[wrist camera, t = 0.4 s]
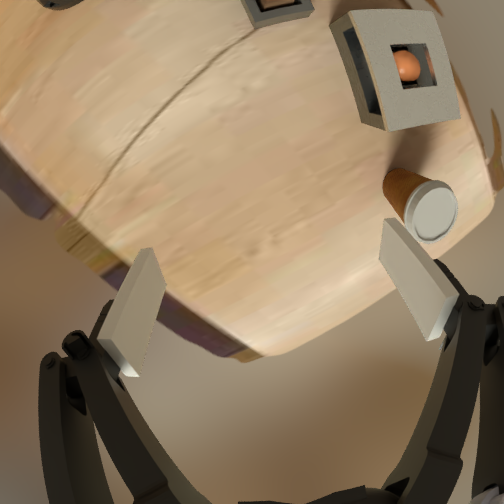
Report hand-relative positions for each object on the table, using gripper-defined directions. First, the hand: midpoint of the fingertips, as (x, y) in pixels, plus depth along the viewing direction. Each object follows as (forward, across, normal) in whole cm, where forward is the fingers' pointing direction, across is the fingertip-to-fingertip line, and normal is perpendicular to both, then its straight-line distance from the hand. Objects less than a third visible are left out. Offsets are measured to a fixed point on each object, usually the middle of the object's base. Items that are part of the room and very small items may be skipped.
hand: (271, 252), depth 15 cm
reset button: (+24, +21, +12) cm, 34 cm away
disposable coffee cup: (+27, +23, -8) cm, 37 cm away
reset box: (+27, +21, +12) cm, 37 cm away
